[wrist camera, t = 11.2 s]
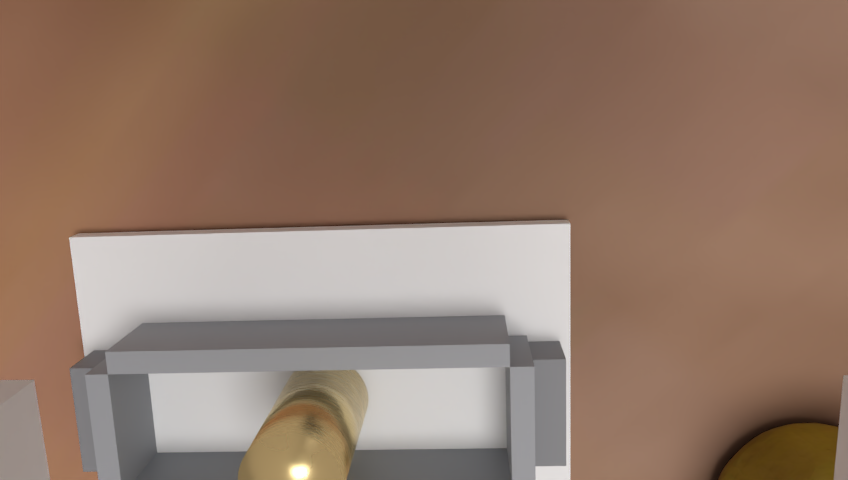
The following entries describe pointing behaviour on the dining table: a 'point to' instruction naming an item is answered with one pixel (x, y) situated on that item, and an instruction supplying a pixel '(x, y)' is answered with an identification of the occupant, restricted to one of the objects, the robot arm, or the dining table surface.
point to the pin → (309, 429)
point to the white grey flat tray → (327, 345)
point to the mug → (786, 454)
